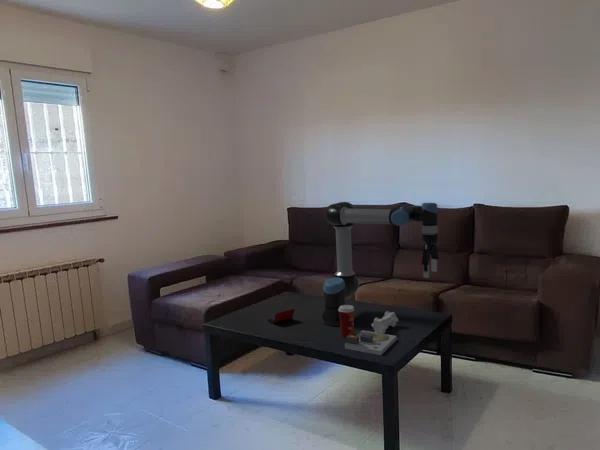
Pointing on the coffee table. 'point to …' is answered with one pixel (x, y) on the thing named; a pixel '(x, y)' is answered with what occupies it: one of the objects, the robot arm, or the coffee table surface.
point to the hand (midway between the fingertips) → (430, 274)
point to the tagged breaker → (352, 339)
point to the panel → (372, 342)
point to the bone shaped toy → (384, 322)
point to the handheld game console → (282, 317)
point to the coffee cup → (346, 320)
